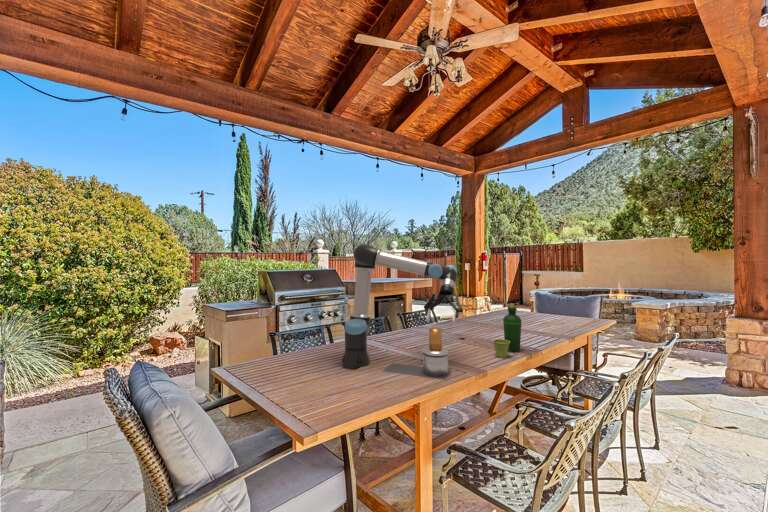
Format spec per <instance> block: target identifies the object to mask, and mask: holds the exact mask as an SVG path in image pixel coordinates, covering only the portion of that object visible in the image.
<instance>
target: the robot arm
mask: <svg viewBox="0 0 768 512" xmlns="http://www.w3.org/2000/svg"><path fill="white" fill-rule="evenodd" d="M352 254H353V259H354V269H356V274H355V275H356V277H355V287H354V289H355V290H354V299H353V307H352V308H353V310H352V312H351V313H350V315H349V319H348V320H346V321H345V324H344V353H343V356H342V360H341V367H342V368H345V369H350V370H359V369H360V368H363V367H366V366H367V367H368V366H369V365H370V364H371V359H370V355H369V353H368V352H369V351H368V348H367V347H368V346H367V345H368V342H367V341H368V337H367V336H368V335H369V333H370V331H371V315H370V314H369V308H370V297H371V286H372V285H371V284H372V274H373V271H374V270H375V269H376V267H377V266H380V267H385V268H387V269H388V268H389V269H393V270H397V271H401V272H406V273H410V274H411V273H412V274H415V275H420V276H425V277H427V278H432V279H438V280H440V281H441V283H440V287H439V292H438V295H435V293H434V294H432V296H431V297H430V299H428V301H427V302H426V303H425V304H424V305H423V308H424V309H423V310H425V316H426V318H425V320H426V322H427V323H429V322H430V317H431V313H432V310H433V309H435V308H436V307H437V306H438V305H440V304H443V305H448V304H449V306H451V307H452V309H453V310H454V311H453V315H452V316H453V317H452V323H453V325H456V321H457V319H458V318H459V313H463V311H464V309H463V306H462V305H461V303H460V299H459V295H458V294H456V295H455V296H454V294H455V293H454V292H455V287H456V282H457V278H458V273H459V272H458V267H456V265H453V264H446V265H445V266H443V265H440V264H438V263H434V262H431V261H428V260H427V261H425V260H420V259H417V258H416V259H415V258H412V257H407V256H402V255H398V254H395V253H390V252H386V251H382V250H381V249H380V248H376V247H374V246H372V245H371V244H366V243H362V244H359V245H357V246H356V247H355V248H354V250H353V253H352ZM453 301H455V302H456V304H457V305H456V304H455V303H454V302H453Z"/></svg>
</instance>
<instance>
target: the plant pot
mask: <svg viewBox="0 0 768 512" xmlns="http://www.w3.org/2000/svg"><path fill="white" fill-rule="evenodd" d="M492 342H493V345H494V352H495V357H499V358H500V359H501V358H502V359H503V358H507V357H508V353H509V351H508V347H509V343H510V341H508V340H505V339H503V338H502V339H500V338H497V339H493V340H492Z"/></svg>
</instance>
